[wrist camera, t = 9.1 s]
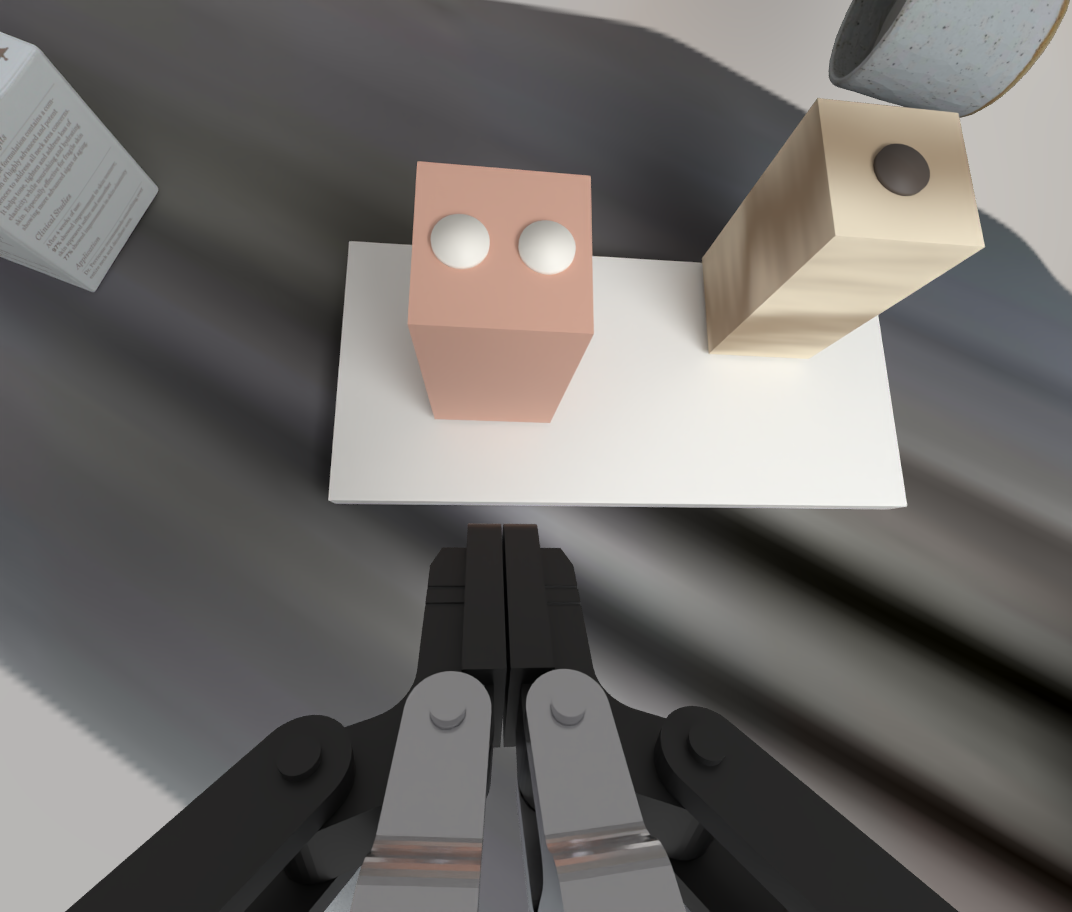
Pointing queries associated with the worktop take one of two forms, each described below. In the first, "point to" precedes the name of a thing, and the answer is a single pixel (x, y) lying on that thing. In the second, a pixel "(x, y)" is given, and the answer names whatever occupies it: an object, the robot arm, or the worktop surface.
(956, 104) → the ceramic mug
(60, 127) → the product box
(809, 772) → the worktop surface
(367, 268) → the keypad board
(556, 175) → the key two
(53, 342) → the worktop surface
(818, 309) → the key one
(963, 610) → the worktop surface
